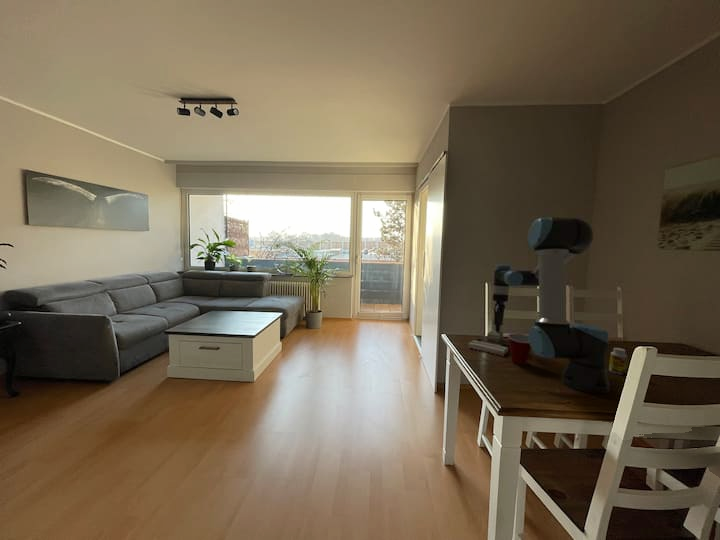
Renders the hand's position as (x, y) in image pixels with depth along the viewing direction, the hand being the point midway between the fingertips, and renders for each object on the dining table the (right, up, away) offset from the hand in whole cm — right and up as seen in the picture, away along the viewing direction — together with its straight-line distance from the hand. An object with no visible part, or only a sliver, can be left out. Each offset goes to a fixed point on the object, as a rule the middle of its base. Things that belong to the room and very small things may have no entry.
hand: (497, 336), depth 174 cm
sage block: (-3, -1, -3) cm, 4 cm away
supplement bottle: (+36, -8, -35) cm, 51 cm away
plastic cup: (-2, -6, -28) cm, 29 cm away
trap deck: (-6, -4, -7) cm, 10 cm away
